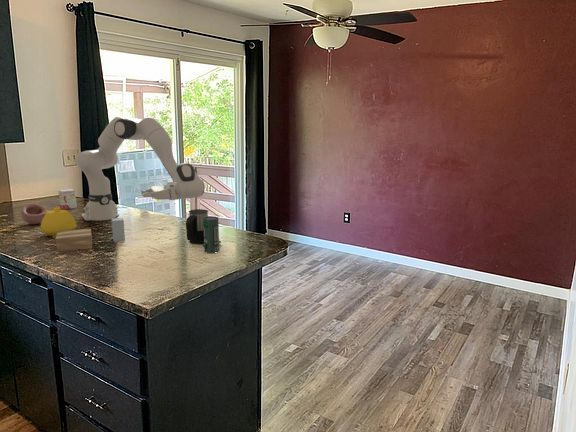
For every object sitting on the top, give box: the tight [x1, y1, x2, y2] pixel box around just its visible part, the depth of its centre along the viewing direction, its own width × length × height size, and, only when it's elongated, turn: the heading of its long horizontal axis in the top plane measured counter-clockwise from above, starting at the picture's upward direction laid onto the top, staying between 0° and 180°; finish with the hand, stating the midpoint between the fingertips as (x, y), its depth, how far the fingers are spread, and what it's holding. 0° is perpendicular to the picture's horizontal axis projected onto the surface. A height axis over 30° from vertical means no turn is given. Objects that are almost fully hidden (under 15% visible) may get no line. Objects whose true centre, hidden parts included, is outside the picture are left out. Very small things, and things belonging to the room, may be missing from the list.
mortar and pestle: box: [20, 203, 47, 225], centre depth 234 cm, size 12×12×12 cm
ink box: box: [58, 188, 78, 210], centre depth 274 cm, size 9×5×12 cm, turn 138°
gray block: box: [111, 217, 126, 243], centre depth 206 cm, size 5×5×10 cm
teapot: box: [40, 206, 78, 239], centre depth 214 cm, size 20×16×14 cm
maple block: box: [55, 228, 93, 253], centre depth 196 cm, size 14×14×6 cm
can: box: [203, 216, 220, 254], centre depth 189 cm, size 6×6×15 cm
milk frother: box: [185, 208, 222, 245], centre depth 201 cm, size 14×16×15 cm
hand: (142, 193), depth 207 cm, fingers open, 8 cm apart
